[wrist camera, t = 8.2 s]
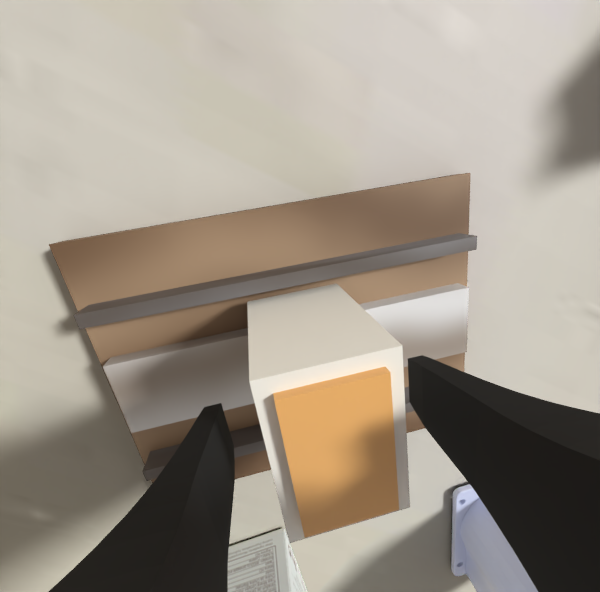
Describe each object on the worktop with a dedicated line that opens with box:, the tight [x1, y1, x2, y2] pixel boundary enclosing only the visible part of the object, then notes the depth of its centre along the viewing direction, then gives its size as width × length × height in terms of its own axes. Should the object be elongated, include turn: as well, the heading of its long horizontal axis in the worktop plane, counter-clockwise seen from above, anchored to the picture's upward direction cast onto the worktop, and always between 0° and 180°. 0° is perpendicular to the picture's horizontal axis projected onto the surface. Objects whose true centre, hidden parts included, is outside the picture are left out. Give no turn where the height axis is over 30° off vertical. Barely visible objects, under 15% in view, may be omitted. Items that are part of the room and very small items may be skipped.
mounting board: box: [49, 173, 477, 483], centre depth 15 cm, size 14×18×2 cm
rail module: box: [247, 284, 410, 543], centre depth 11 cm, size 6×4×6 cm, turn 9°
